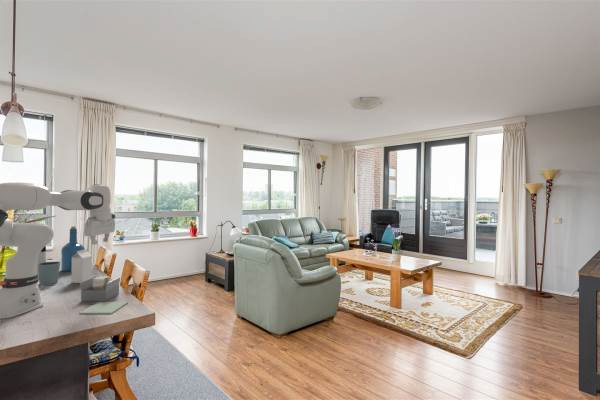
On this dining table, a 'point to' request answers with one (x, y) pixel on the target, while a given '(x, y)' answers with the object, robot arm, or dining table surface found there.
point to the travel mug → (41, 258)
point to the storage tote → (91, 295)
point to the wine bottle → (70, 250)
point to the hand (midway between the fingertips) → (100, 243)
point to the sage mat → (103, 308)
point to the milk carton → (81, 266)
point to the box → (100, 283)
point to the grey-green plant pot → (48, 273)
